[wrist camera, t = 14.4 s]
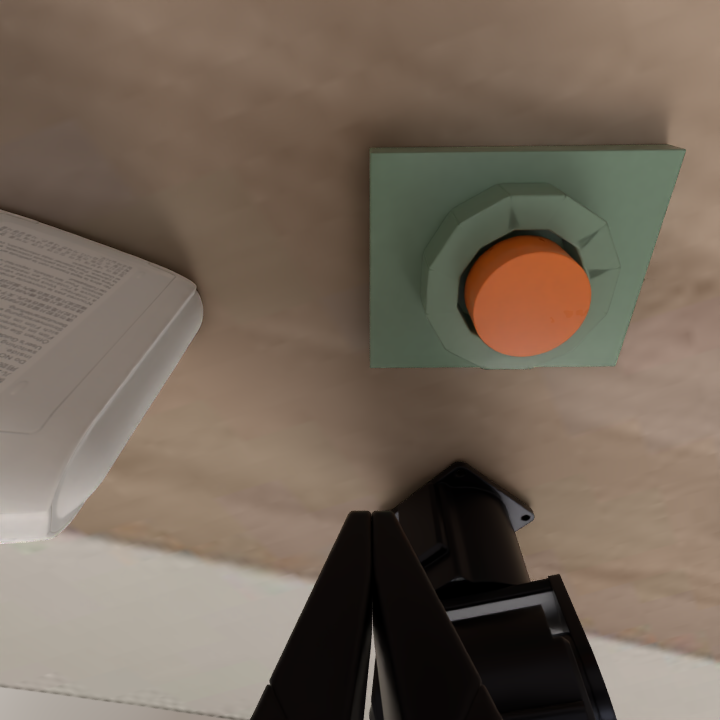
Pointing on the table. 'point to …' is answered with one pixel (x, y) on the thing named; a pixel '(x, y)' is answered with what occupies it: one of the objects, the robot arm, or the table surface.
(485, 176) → the control pad
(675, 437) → the table surface
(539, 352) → the power button
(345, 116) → the table surface
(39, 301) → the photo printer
